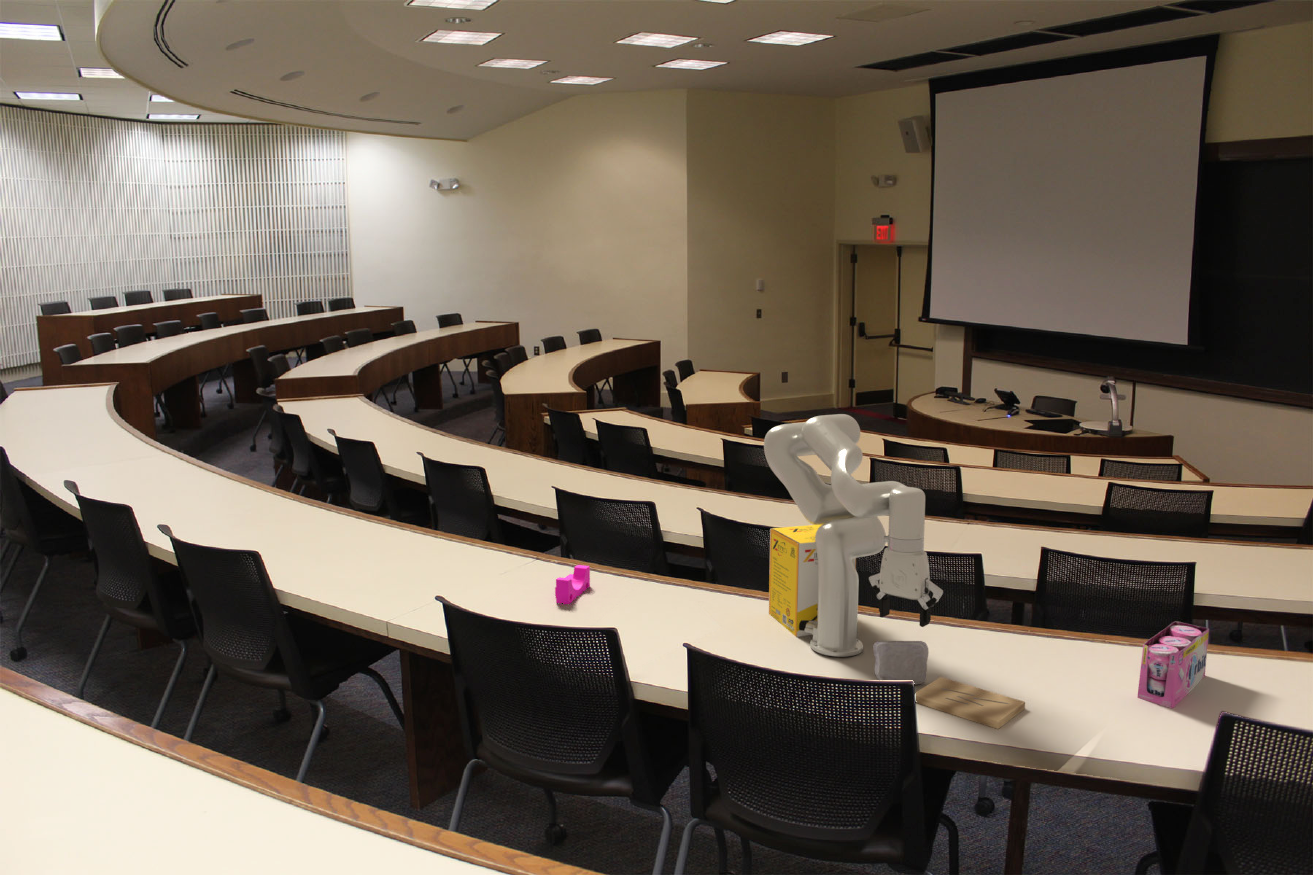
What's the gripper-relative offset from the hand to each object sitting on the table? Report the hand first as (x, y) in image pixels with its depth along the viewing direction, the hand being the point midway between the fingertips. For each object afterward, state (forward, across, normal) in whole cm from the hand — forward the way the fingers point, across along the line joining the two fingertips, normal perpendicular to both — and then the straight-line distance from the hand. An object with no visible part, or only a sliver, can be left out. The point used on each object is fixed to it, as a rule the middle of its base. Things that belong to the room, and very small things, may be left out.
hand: (904, 620), depth 211 cm
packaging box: (+14, -36, +17) cm, 42 cm away
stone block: (+15, -1, 0) cm, 15 cm away
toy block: (+13, -100, -10) cm, 101 cm away
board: (+15, +15, 0) cm, 21 cm away
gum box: (+16, +44, +37) cm, 60 cm away
